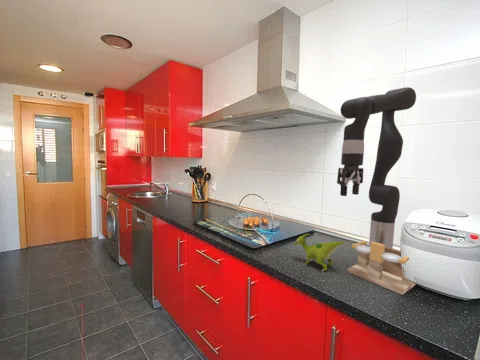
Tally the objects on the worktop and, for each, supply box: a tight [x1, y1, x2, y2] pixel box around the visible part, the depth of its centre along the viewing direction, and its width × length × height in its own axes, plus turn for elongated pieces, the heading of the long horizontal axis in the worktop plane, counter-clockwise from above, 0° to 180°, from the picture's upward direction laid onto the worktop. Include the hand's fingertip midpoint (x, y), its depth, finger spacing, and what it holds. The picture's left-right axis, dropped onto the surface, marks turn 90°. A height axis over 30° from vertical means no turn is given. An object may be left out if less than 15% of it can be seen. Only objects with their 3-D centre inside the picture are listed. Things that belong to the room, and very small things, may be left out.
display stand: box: [347, 247, 417, 295], centre depth 90 cm, size 12×19×10 cm, turn 37°
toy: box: [293, 233, 347, 272], centre depth 99 cm, size 8×21×15 cm, turn 51°
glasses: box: [351, 240, 409, 264], centre depth 89 cm, size 11×18×6 cm, turn 37°
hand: (349, 195), depth 93 cm, fingers open, 8 cm apart
